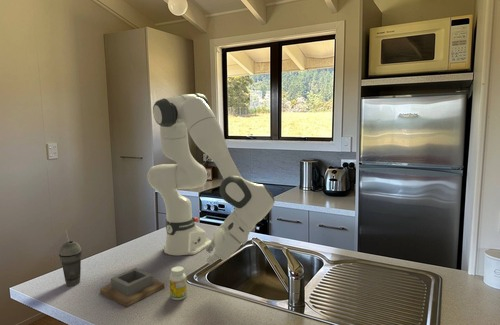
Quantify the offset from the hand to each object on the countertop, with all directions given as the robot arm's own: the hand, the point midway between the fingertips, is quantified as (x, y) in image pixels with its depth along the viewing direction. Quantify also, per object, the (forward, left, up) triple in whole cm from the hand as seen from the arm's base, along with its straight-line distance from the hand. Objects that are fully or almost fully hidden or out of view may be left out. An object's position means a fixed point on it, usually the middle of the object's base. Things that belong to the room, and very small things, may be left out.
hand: (208, 256), depth 112 cm
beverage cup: (+23, -45, -13) cm, 52 cm away
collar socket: (+14, -23, -13) cm, 30 cm away
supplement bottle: (+7, -7, -13) cm, 17 cm away
